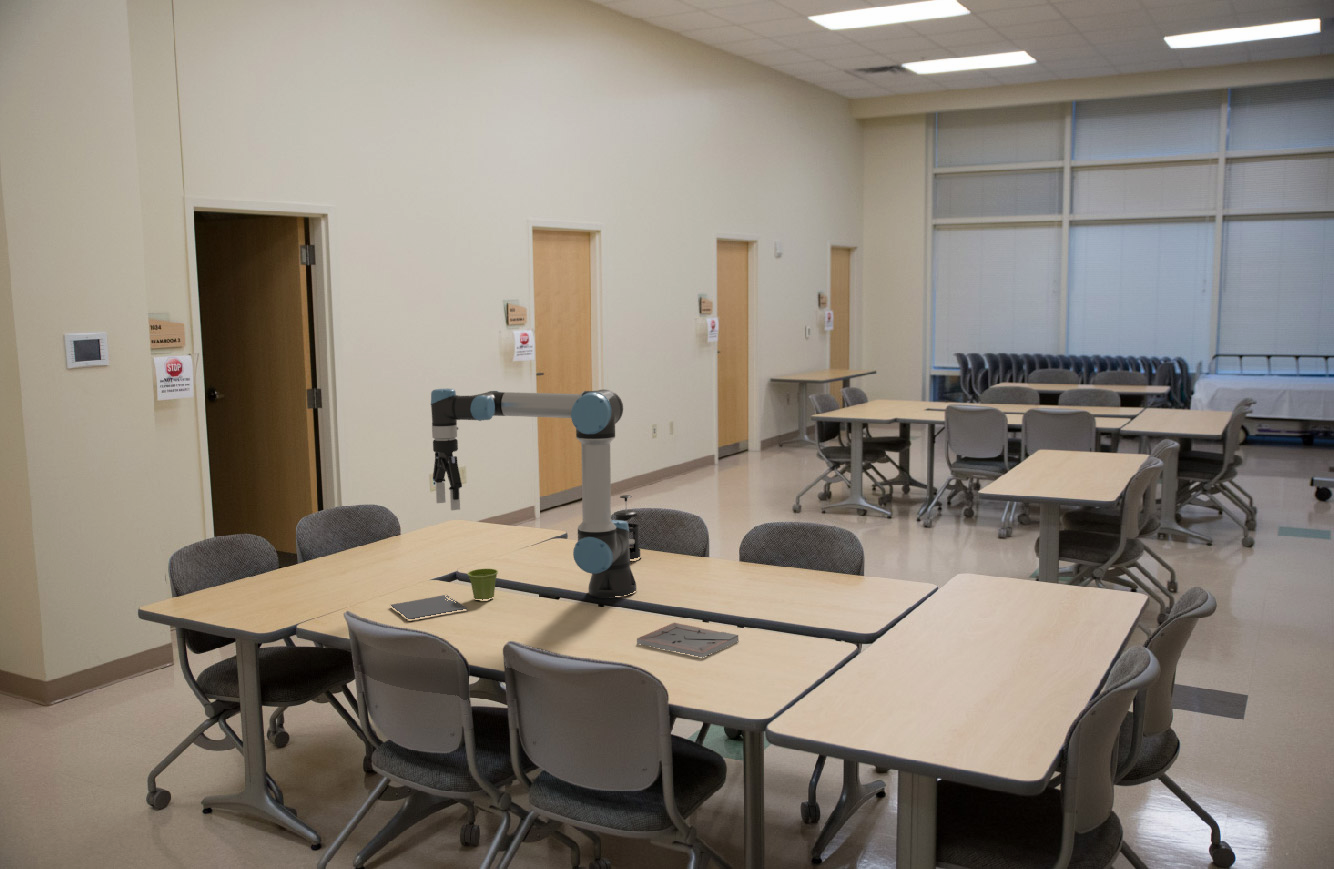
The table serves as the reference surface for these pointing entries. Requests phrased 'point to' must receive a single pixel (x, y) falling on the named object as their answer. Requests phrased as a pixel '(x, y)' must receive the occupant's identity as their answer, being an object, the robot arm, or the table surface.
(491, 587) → the plant pot
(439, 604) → the charcoal mat
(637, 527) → the french press
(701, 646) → the picture frame
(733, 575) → the table surface
